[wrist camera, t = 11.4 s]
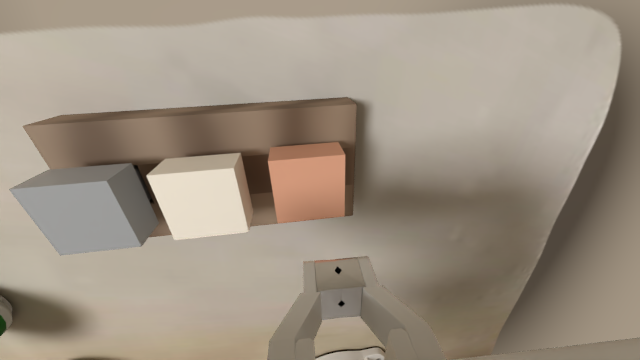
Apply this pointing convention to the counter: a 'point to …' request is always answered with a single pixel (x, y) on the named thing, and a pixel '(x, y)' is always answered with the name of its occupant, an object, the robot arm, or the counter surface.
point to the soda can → (5, 315)
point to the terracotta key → (308, 181)
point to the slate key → (89, 207)
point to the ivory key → (203, 195)
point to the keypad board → (201, 141)
